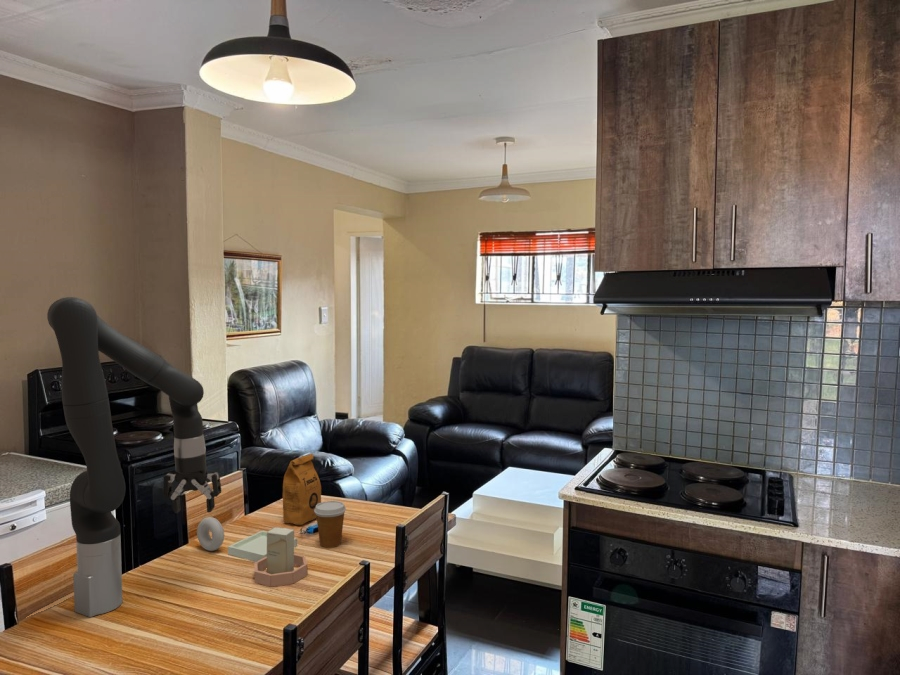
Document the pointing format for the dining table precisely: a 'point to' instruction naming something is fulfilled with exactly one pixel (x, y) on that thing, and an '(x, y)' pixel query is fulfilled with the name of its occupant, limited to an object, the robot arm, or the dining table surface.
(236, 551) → the tray
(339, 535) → the disposable coffee cup
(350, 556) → the dining table surface
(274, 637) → the dining table surface
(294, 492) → the coffee package
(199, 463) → the robot arm
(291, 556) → the skincare box
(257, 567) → the holder ring
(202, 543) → the donut
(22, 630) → the dining table surface
